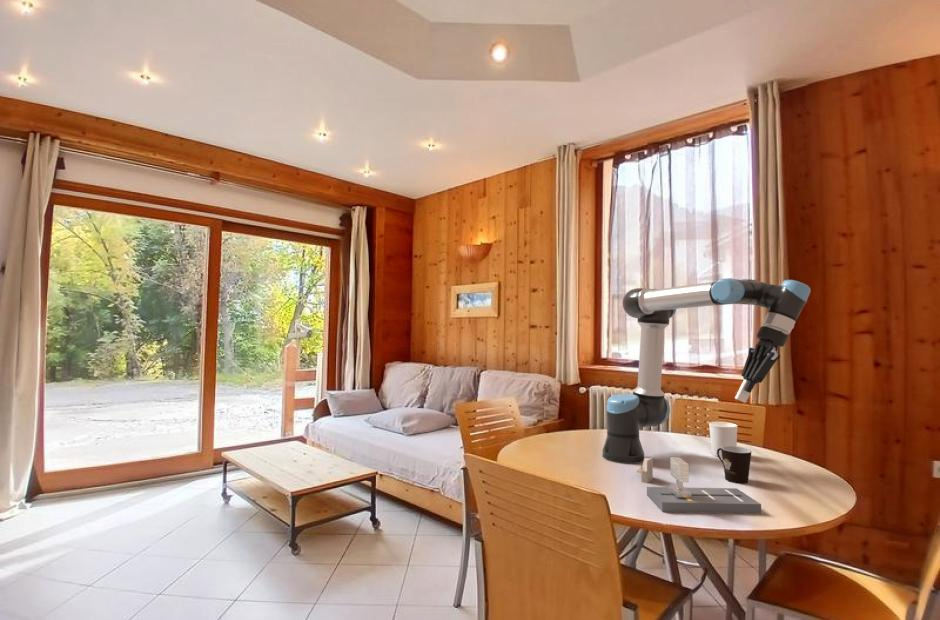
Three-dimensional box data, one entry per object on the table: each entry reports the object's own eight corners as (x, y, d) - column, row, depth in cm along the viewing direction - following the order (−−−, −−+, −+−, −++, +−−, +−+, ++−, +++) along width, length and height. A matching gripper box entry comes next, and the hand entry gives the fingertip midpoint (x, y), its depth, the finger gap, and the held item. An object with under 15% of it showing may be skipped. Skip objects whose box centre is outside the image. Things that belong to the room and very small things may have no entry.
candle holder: (743, 459, 174) (743, 427, 174) (717, 458, 174) (716, 426, 174) (729, 452, 184) (728, 421, 184) (704, 451, 184) (704, 421, 184)
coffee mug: (756, 485, 144) (756, 453, 144) (726, 483, 146) (726, 452, 146) (742, 474, 156) (742, 444, 156) (714, 472, 157) (714, 443, 158)
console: (662, 511, 124) (662, 501, 124) (646, 495, 136) (646, 486, 136) (761, 513, 123) (761, 503, 123) (736, 497, 135) (736, 488, 135)
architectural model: (636, 482, 148) (636, 459, 149) (643, 476, 154) (642, 454, 154) (647, 484, 146) (647, 461, 147) (653, 479, 152) (653, 456, 152)
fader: (677, 497, 126) (676, 463, 127) (668, 489, 133) (667, 457, 133) (691, 497, 126) (691, 464, 126) (682, 489, 132) (681, 457, 133)
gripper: (800, 337, 131) (763, 411, 133) (774, 333, 144) (740, 401, 146) (775, 326, 132) (738, 400, 133) (751, 323, 145) (718, 391, 146)
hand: (739, 400), depth 139 cm, fingers closed
